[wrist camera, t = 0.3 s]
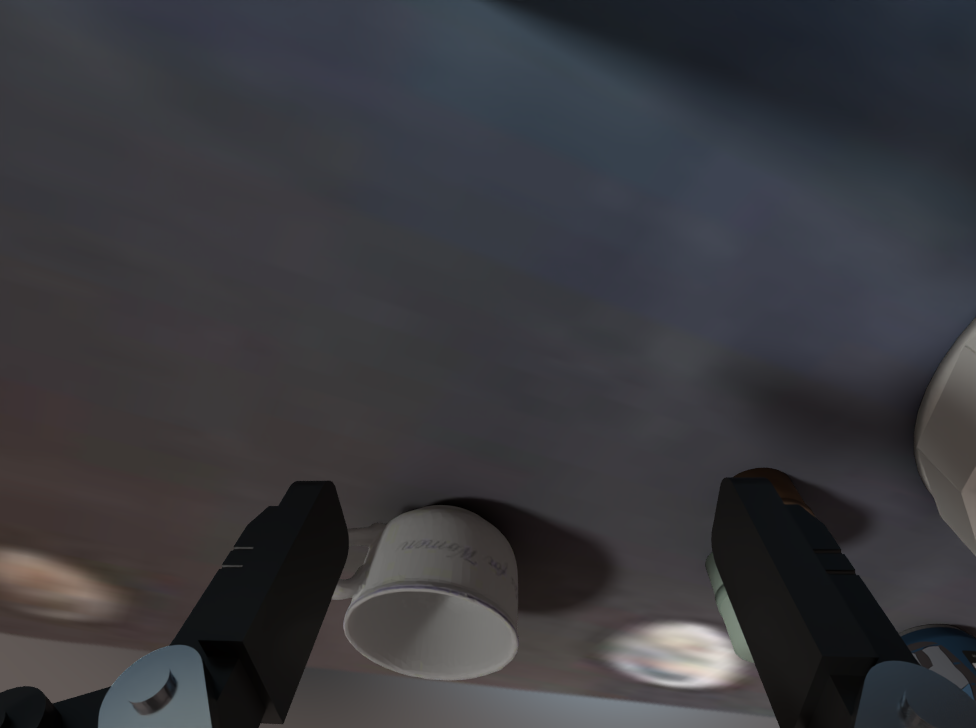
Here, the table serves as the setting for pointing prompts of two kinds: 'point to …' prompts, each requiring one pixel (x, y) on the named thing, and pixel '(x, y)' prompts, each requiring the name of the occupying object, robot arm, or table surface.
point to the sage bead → (727, 611)
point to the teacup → (434, 595)
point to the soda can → (945, 653)
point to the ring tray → (951, 437)
